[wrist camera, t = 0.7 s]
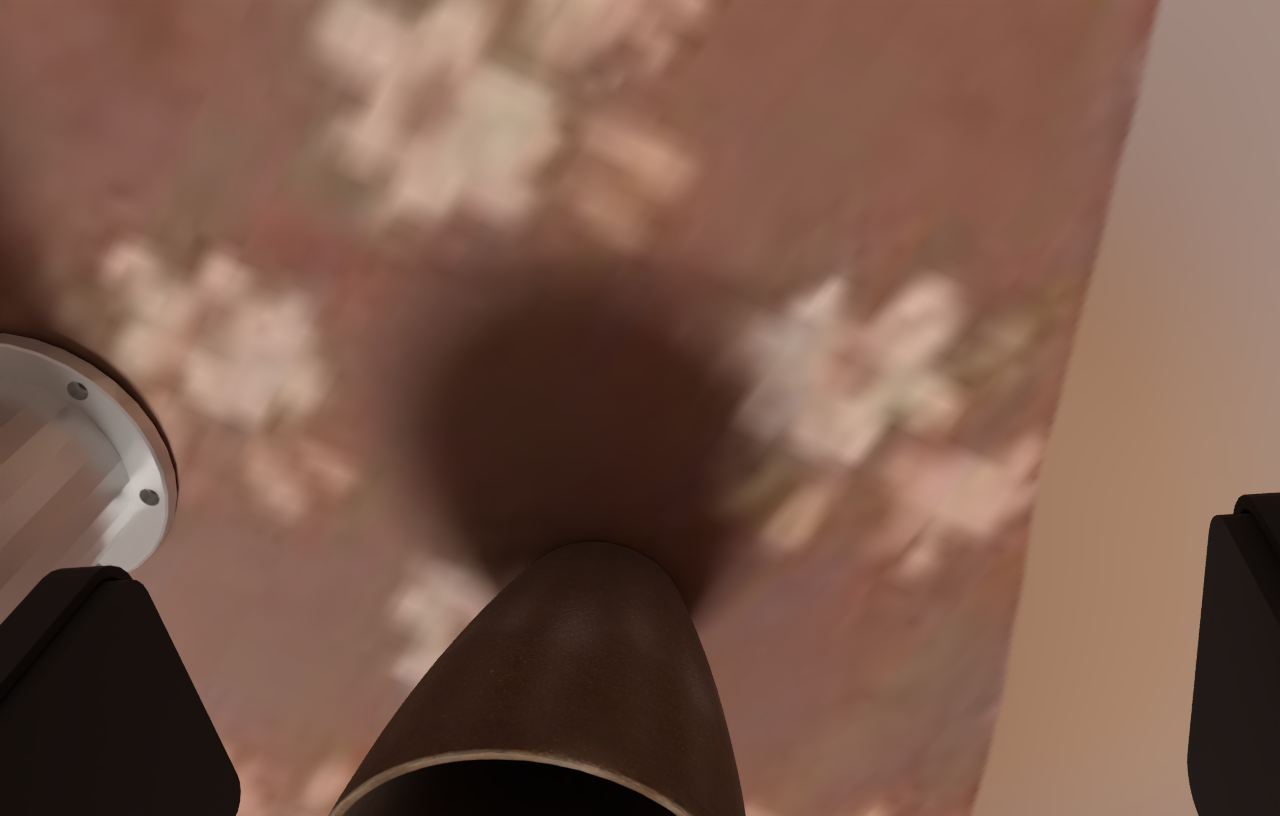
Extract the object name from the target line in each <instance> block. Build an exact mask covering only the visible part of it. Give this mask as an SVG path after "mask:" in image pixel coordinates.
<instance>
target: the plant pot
mask: <svg viewBox="0 0 1280 816" xmlns="http://www.w3.org/2000/svg"><path fill="white" fill-rule="evenodd" d="M329 816H746V815H745V809H744V802H743V796H742V791H741V786H740V781H739V775H738V770H737V766H736V762H735V757H734V753H733V748H732V744H731V740H730V736H729V732H728V728H727V724H726V720H725V716H724V712H723V709H722V705H721V702H720V698H719V695H718V691H717V688H716V685H715V682H714V679H713V675H712V672H711V669H710V666H709V663H708V660H707V658H706V655H705V652H704V650H703V647H702V644H701V642H700V639H699V637H698V634H697V632H696V629H695V627H694V624H693V622H692V620H691V617H690V615H689V613H688V610H687V608H686V606H685V604H684V602H683V600H682V598H681V596H680V594H679V592H678V590H677V588H676V586H675V584H674V582H673V581H672V580H671V578H670V577H669V576H668V574H667V573H666V572H665V571H664V570H663V569H662V568H661V567H660V566H659V565H657V564H656V563H655V562H654V561H652V560H651V559H649V558H648V557H646V556H645V555H643V554H641V553H639V552H637V551H635V550H632V549H630V548H627V547H624V546H621V545H617V544H613V543H607V542H579V543H572V544H569V545H565V546H562V547H559V548H557V549H554V550H552V551H550V552H549V553H547V554H546V555H544V556H543V557H541V558H540V559H539V560H538V561H536V562H535V563H534V564H532V565H531V566H530V567H529V568H527V569H526V570H525V571H524V572H523V573H522V574H520V575H519V576H518V577H517V578H516V579H514V580H513V581H512V582H511V583H510V584H509V585H508V586H507V587H506V588H505V589H504V590H502V591H501V592H500V593H499V594H498V595H497V596H496V597H495V598H494V599H493V600H492V601H491V602H490V603H489V604H488V605H487V606H486V607H485V608H484V609H483V610H482V611H481V612H480V613H479V614H478V615H477V616H476V617H475V618H474V619H473V620H472V621H471V622H470V623H469V624H468V626H467V627H466V628H465V629H464V630H463V631H462V632H461V633H460V634H459V635H458V637H457V638H456V639H455V640H454V641H453V642H452V643H451V645H450V646H449V647H448V648H447V649H446V650H445V651H444V653H443V654H442V655H441V656H440V657H439V658H438V659H437V661H436V662H435V663H434V664H433V666H432V667H431V668H430V669H429V671H428V672H427V673H426V674H425V676H424V677H423V678H422V679H421V681H420V682H419V683H418V684H417V686H416V687H415V688H414V690H413V691H412V692H411V693H410V695H409V696H408V697H407V699H406V700H405V701H404V702H403V704H402V705H401V707H400V708H399V709H398V711H397V712H396V713H395V715H394V716H393V718H392V719H391V720H390V722H389V723H388V724H387V726H386V727H385V729H384V730H383V731H382V733H381V734H380V736H379V737H378V739H377V740H376V742H375V743H374V745H373V746H372V748H371V749H370V751H369V752H368V754H367V755H366V757H365V758H364V760H363V762H362V763H361V765H360V766H359V768H358V769H357V771H356V773H355V774H354V776H353V777H352V779H351V780H350V782H349V783H348V785H347V787H346V788H345V790H344V791H343V793H342V794H341V796H340V797H339V799H338V801H337V802H336V804H335V806H334V807H333V809H332V811H331V812H330V814H329Z"/></svg>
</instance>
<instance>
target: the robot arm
mask: <svg viewBox="0 0 1280 816" xmlns="http://www.w3.org/2000/svg"><path fill="white" fill-rule="evenodd" d="M176 501H177V488H176V479H175V472H174V469H173V466H172V463H171V459H170V456H169V453H168V450H167V448H166V446H165V444H164V442H163V441H162V439H161V437H160V435H159V433H158V431H157V429H156V428H155V426H154V424H153V423H152V422H151V421H150V419H149V418H148V417H147V415H146V414H145V413H144V411H143V410H142V409H141V408H140V406H139V405H138V404H137V402H135V401H134V400H133V399H132V398H131V397H130V396H129V395H128V394H127V393H126V392H125V391H124V390H123V389H122V388H121V387H120V386H119V385H118V384H117V383H116V382H115V381H113V380H112V379H110V378H109V377H108V376H106V375H105V374H104V373H102V372H101V371H99V370H98V369H97V368H95V367H94V366H93V365H91V364H90V363H88V362H86V361H84V360H82V359H80V358H78V357H77V356H75V355H73V354H71V353H69V352H67V351H65V350H63V349H61V348H58V347H55V346H53V345H50V344H47V343H44V342H42V341H39V340H36V339H32V338H27V337H22V336H17V335H12V334H7V333H0V816H236V814H237V812H238V808H239V804H240V794H241V789H240V781H239V778H238V775H237V773H236V771H235V769H234V767H233V765H232V763H231V761H230V759H229V756H228V754H227V752H226V750H225V748H224V746H223V744H222V742H221V740H220V738H219V736H218V734H217V732H216V730H215V728H214V726H213V724H212V722H211V720H210V718H209V716H208V714H207V711H206V709H205V707H204V705H203V703H202V701H201V699H200V697H199V695H198V693H197V691H196V689H195V687H194V685H193V683H192V681H191V679H190V677H189V675H188V673H187V671H186V669H185V666H184V664H183V662H182V660H181V658H180V656H179V654H178V652H177V650H176V648H175V646H174V644H173V642H172V640H171V638H170V636H169V634H168V632H167V630H166V628H165V626H164V624H163V621H162V619H161V617H160V615H159V613H158V611H157V609H156V607H155V605H154V603H153V601H152V599H151V597H150V595H149V593H148V591H147V590H146V588H145V587H144V585H143V584H141V583H140V582H139V581H137V580H133V579H132V578H131V577H130V575H129V574H128V573H129V572H131V571H133V570H134V569H136V568H138V567H140V566H141V565H142V564H143V563H144V562H145V561H146V560H147V559H148V558H149V557H150V556H151V555H152V554H153V553H154V551H155V550H156V549H157V547H158V546H159V544H160V543H161V542H162V540H163V539H164V538H165V536H166V535H167V533H168V531H169V528H170V526H171V523H172V521H173V518H174V516H175V509H176ZM1194 682H1195V683H1194V692H1193V703H1192V713H1191V723H1190V734H1189V744H1188V755H1187V757H1188V758H1187V765H1188V777H1189V783H1190V789H1191V793H1192V797H1193V801H1194V804H1195V807H1196V810H1197V812H1198V815H1199V816H1280V493H1264V494H1249V495H1242V496H1241V497H1239V498H1238V500H1237V502H1236V505H1235V508H1234V513H1233V514H1227V515H1216V516H1214V517H1213V518H1212V520H1211V523H1210V528H1209V536H1208V546H1207V556H1206V567H1205V577H1204V588H1203V598H1202V608H1201V620H1200V629H1199V641H1198V650H1197V661H1196V671H1195V681H1194Z"/></svg>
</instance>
